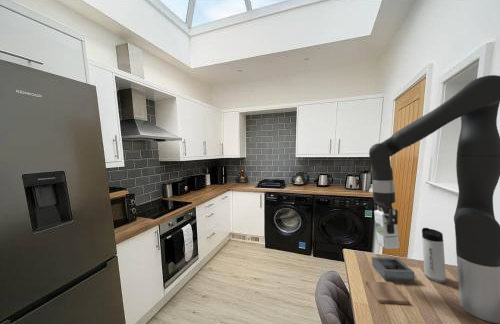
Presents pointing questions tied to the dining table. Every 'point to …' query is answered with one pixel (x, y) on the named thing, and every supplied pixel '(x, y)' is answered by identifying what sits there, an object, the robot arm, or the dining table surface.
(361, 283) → the dining table surface
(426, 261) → the travel mug
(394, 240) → the syrup box
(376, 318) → the dining table surface
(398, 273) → the frame
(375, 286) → the walnut board
